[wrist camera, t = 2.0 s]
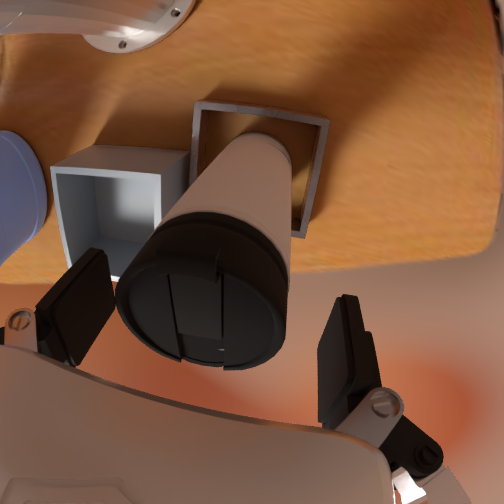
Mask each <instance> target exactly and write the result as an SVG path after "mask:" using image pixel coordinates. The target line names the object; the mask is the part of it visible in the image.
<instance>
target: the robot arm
mask: <svg viewBox="0 0 504 504" xmlns="http://www.w3.org/2000/svg"><path fill="white" fill-rule="evenodd" d="M195 2H196V0H0V35H7V34H26V33H63V34H81V35H82V36H83V38H84V39H85V40H86V41H87V42H88V43H89V44H90V45H91V46H93V47H95V48H96V49H98V50H101V51H105V52H108V53H131V52H136V51H141V50H143V49H146V48H148V47H151V46H153V45H155V44H156V43H158V42H160V41H162V40H163V39H165V38H166V37H167V36H169V35H170V34H171V33H172V32H174V31H175V30H176V29H177V28H178V27H179V26H180V25H181V24H182V23H183V22H184V20H185V19H186V17H187V16H188V15H189V13H190V12H191V10H192V8H193V6H194V4H195ZM178 12H181V13H180V15H179V16H178V17H177V13H178ZM126 44H127V45H126ZM125 45H126V47H125ZM115 306H116V302H115V296H114V291H113V285H112V280H111V274H110V268H109V262H108V256H107V254H105V252H104V250H102V249H98V248H93V247H90V248H89V249H88V250H87V251H86V252H85V253H84V254H83V255H82V256H81V257H80V258H79V259H78V260H77V261H76V262H75V263H74V264H73V265H72V266H71V267H70V268H69V269H68V271H67V272H66V273H65V274H64V275H63V276H62V277H61V278H60V279H59V280H58V281H57V282H56V283H55V285H54V286H53V287H52V288H51V289H50V290H49V291H48V292H47V293H46V295H45V296H44V297H43V298H42V299H41V300H40V301H39V303H38V304H37V305H36V306H35V307H36V310H35V312H33V311H32V310H31V309H28V308H20V309H17V310H15V311H13V312H12V313H11V314H10V315H9V316H8V317H7V319H6V322H5V327H2V328H0V504H395V495H394V490H398V492H399V493H400V495H401V496H402V498H401V499H400V500H401V501H402V503H403V504H471V501H470V499H469V497H468V496H467V494H466V492H465V491H464V490H463V488H462V486H461V485H460V483H459V482H458V480H457V479H456V477H455V476H454V475H453V473H452V472H451V470H450V469H449V467H446V468H445V467H444V465H443V464H442V463H443V457H444V456H443V451H442V449H441V447H440V446H439V445H438V443H437V442H435V441H434V440H433V439H432V438H431V437H429V436H428V435H427V434H425V433H424V432H423V431H422V430H421V429H419V428H418V427H417V426H416V425H415V424H413V423H412V422H411V421H410V420H409V419H407V418H406V417H405V416H404V415H403V411H404V404H403V401H402V399H401V397H400V396H399V395H398V394H397V393H396V392H395V391H393V390H391V389H389V388H385V387H382V384H381V379H380V373H379V368H378V362H377V356H376V351H375V346H374V342H373V337H372V334H371V332H369V331H365V329H364V324H363V319H362V314H361V309H360V304H359V300H358V297H357V296H353V295H347V294H343V295H342V297H337V298H336V301H335V303H334V306H333V309H332V311H331V314H330V317H329V320H328V322H327V324H326V327H325V329H324V332H323V334H322V337H321V339H320V341H319V344H318V349H317V360H318V422H320V423H322V428H320V427H314V426H307V425H300V424H292V423H284V422H277V421H271V420H265V419H258V418H253V417H247V416H241V415H236V414H230V413H225V412H220V411H215V410H211V409H206V408H202V407H198V406H193V405H189V404H185V403H181V402H177V401H174V400H170V399H166V398H162V397H159V396H155V395H152V394H149V393H145V392H142V391H139V390H136V389H132V388H129V387H126V386H123V385H120V384H117V383H114V382H111V381H109V380H106V379H103V378H100V377H97V376H95V375H92V374H89V373H87V372H84V371H81V370H79V369H77V368H75V367H76V366H78V365H80V363H81V362H82V360H83V358H84V357H85V355H86V354H87V352H88V350H89V349H90V347H91V345H92V344H93V342H94V341H95V339H96V338H97V336H98V334H99V333H100V331H101V330H102V328H103V327H104V325H105V324H106V322H107V320H108V319H109V317H110V316H111V314H112V313H113V311H114V310H115Z"/></svg>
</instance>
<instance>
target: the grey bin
mask: <svg viewBox="0 0 504 504" xmlns="http://www.w3.org/2000/svg"><path fill="white" fill-rule="evenodd" d="M189 167H190V151H185V150H174V149H162V148H149V147H133V146H113V145H92V146H89V147H87V148H85V149H83V150H81V151H79V152H77V153H75V154H73V155H71V156H69V157H67V158H65V159H63V160H61V161H59V162H57V163H55V164H53V165H52V166H50V170H51V179H52V186H53V193H54V200H55V206H56V212H57V218H58V223H59V228H60V233H61V238H62V243H63V247H64V252H65V256H66V260H67V264H68V268H70V267H71V266H72V265H73V264H74V263H75V262H76V261H77V260H78V259H79V258H80V257H81V256H82V255H83V254H84V253H85V252H86V251H87V250H88V249H89V248H90V247H93V248H98V249H102V250H104V252H105V254H107V256H108V262H109V268H110V274H111V280H112V281H117V282H118V279H119V278H120V277H121V275H122V274H123V273H124V271H125V270H126V269H127V267H128V266H129V264H130V263H131V262H132V260H133V259H134V258H135V256H136V255H137V254H138V252H139V251H140V250H141V249H142V247H143V246H144V245H145V243H146V242H147V240H148V238H149V236H150V235H151V233H152V232H153V231H154V230H155V228H156V227H157V226H158V225H159V223H160V222H161V221H162V220H163V218H164V217H165V216H166V215H167V214H168V212H169V211H170V210H171V209H172V207H173V206H174V205H175V204H176V203H177V202H178V200H179V199H180V198H181V197H182V196H183V194H184V193H185V192H186V191H187V190H188V189H189Z"/></svg>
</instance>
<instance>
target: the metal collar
mask: <svg viewBox="0 0 504 504" xmlns="http://www.w3.org/2000/svg"><path fill="white" fill-rule="evenodd" d="M209 110H216V111H227V112H236V113H244V114H252V115H260V116H267V117H274V118H280V119H286V120H292V121H298V122H303V123H309V124H314V125H318V128H317V134H316V139H315V144H314V149H313V155H312V160H311V165H310V170H309V175H308V180H307V185H306V190H305V194H304V199H303V204H302V209H301V213H300V218H299V219H295V218H291V236H292V237H297V238H303V239H305V236H306V232H307V228H308V224H309V220H310V215H311V211H312V206H313V202H314V198H315V193H316V189H317V184H318V179H319V175H320V170H321V165H322V160H323V156H324V151H325V146H326V141H327V136H328V131H329V125H330V119H329V118H328V117H326V116H321V115H316V114H311V113H306V112H300V111H295V110H289V109H283V108H277V107H270V106H263V105H255V104H247V103H239V102H229V101H218V100H206V99H202V100H198V101H195V103H194V115H193V128H192V142H191V159H190V179H189V187H190V186H191V185H192V184H193V183H194V182H195V181H196V179H197V178H198V177H199V176H200V175H201V174H202V173H203V171H204V162H205V149H206V136H207V124H208V114H209Z"/></svg>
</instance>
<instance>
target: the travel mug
mask: <svg viewBox="0 0 504 504" xmlns="http://www.w3.org/2000/svg"><path fill="white" fill-rule="evenodd" d="M291 198H292V163H291V158H290V155H289V153H288V150H287V149H286V148H285V146H284V145H283V144H282V143H281V142H280V141H279V140H278V139H276V138H275V137H273V136H271V135H269V134H266V133H261V132H249V133H244V134H242V135H240V136H238V137H236V138H235V139H233V140H232V141H231V142H230V143H229V144H228V145H227V146H226V147H225V148H224V149H223V151H222V152H221V153H220V154H219V155H218V156H217V157H216V158H215V159H214V160H213V161H212V163H211V164H210V165H209V166H208V167H207V168H206V169H205V170H204V171H203V173H202V174H201V175H200V176H199V177H198V178H197V179H196V181H195V182H194V183H193V184H192V185H191V186H190V187H189V189H188V190H187V191H186V192H185V193H184V194H183V196H182V197H181V198H180V199H179V200H178V202H177V203H176V204H175V205H174V206H173V207H172V209H171V210H170V211H169V212H168V214H167V215H166V216H165V217H164V218H163V220H162V221H161V222H160V223H159V225H158V226H157V227H156V228H155V230H154V231H153V232H152V233H151V235H150V236H149V238H148V240H147V242H146V243H145V245H144V246H143V247H142V249H141V250H140V251H139V252H138V254H137V255H136V256H135V258H134V259H133V260H132V262H131V263H130V264H129V266H128V267H127V269H126V270H125V271H124V273H123V274H122V275H121V277H120V278H119V279H118V282H117V285H116V288H115V302H116V306H117V310H118V313H119V314H120V316H121V318H122V320H123V322H124V323H125V325H126V326H127V327H128V329H129V330H130V331H131V332H132V333H133V334H134V335H135V336H136V337H137V338H138V339H139V340H140V341H141V342H143V343H144V344H145V345H146V346H148V347H149V348H150V349H152V350H154V351H155V352H157V353H159V354H160V355H162V356H165V357H167V358H170V359H172V360H175V361H178V362H181V360H182V359H184V360H186V361H188V362H191V363H195V364H199V365H203V366H212V367H222V366H224V367H223V369H224V370H244V369H248V368H252V367H256V366H258V365H260V364H263V363H265V362H266V361H268V360H269V359H271V358H272V357H274V356H275V355H276V353H277V352H278V351H279V350H280V349H281V347H282V345H283V343H284V340H285V335H286V334H285V333H286V318H287V317H286V316H287V298H288V292H289V283H290V254H291Z"/></svg>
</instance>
